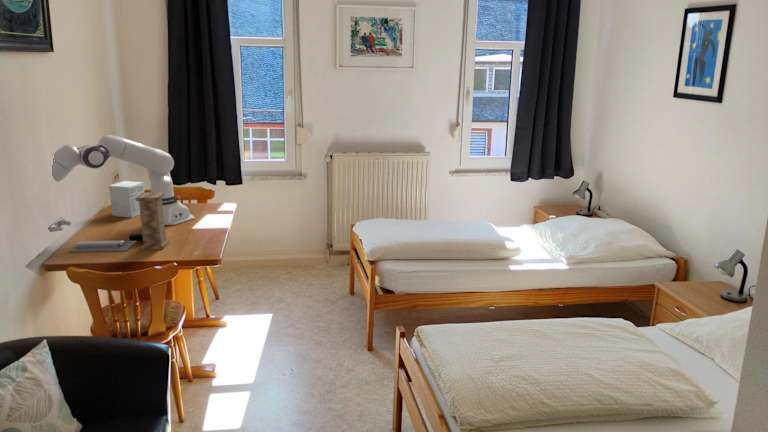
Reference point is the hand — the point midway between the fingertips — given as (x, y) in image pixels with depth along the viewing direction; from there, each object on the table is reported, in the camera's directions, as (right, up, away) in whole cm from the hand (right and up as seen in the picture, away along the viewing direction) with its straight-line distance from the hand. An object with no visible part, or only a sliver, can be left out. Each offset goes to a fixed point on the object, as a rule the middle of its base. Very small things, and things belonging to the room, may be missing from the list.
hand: (66, 225), depth 286 cm
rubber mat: (+16, -10, +4) cm, 19 cm away
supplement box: (+5, +6, +60) cm, 61 cm away
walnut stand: (+40, -10, +5) cm, 41 cm away
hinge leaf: (+14, -9, +4) cm, 18 cm away
